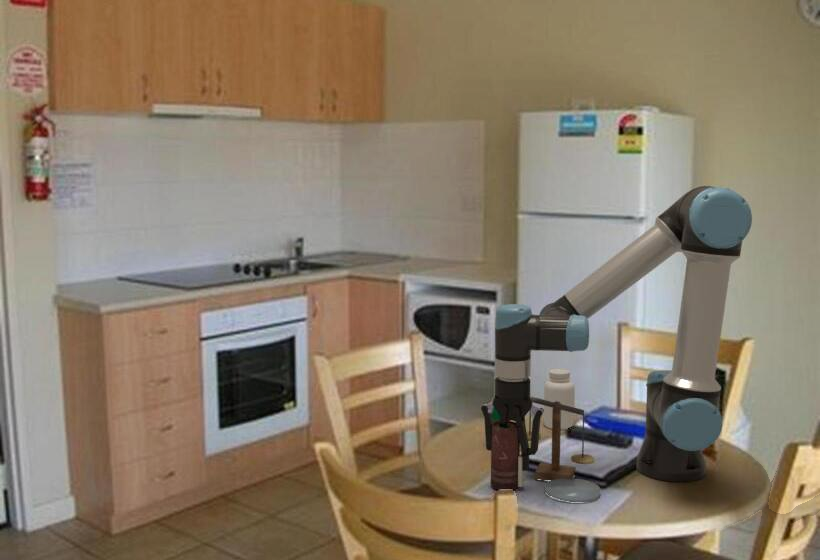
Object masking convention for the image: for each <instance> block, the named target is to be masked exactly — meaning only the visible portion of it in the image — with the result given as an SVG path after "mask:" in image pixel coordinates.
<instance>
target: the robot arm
mask: <svg viewBox="0 0 820 560" xmlns="http://www.w3.org/2000/svg"><path fill="white" fill-rule="evenodd" d="M750 207H751V206H750V205H749V203H748V201H746V199H745V198H744V197H743V196H742V195H741V194H739V193H738V192H736V191H734V190H733V189H730V188H729V187H722V186H717V187H715V186H711V185H708V186H707V185H703V186H698V187H695V188H693V189H690V190H689V191H687V192H685V193H684V194H683V195H682V196H681V197H680V198H678V199H677V200H676V201H675V202H674V203H673V204H672V205H670V206H669V207H668V208H667V209H666V210H664V211H663V212H662V213H661V214H659V215H658V216H657V217H656V218H655V222H654V225H653V226H652V227H650V228H649V229H648V230H646V231H645V232H644V233H642V234H641V235H640V236H638V237H637V238H636V239H634V240H633V241H632V242H631V243H628V245H627V246H626V247H624V248H623V249H621V250H620V251H619V252H618V253H616V254H615V255H614V256H612V257H611V258H610V259H608V260H607V261H606V262H605V263H603V264H601V266H600V267H599V268H597V269H596V270H594V271H593V272H592V273H590V274H589V275H588V276H586V277H585V278H584V279H583V280H581V281H580V282H579V283H577V284H576V285H574V287H572V288H571V289H570V290H568V291H567V292H566V293H564V295H562V296H561V297H560V298H558V299H556V300H555V301H554V302H549V303H547V304H545V306H543V307H542V308H541V310H540V312H539V314H533V312H532V308H531V306H530V305H527V304H519V303H509V304H502V305H500V306H498V307H497V309H496V310H495V321H494V322H495V326H494V342H495V343H494V344H495V345H494V350H495V351H494V353H495V354H494V355H495V357H494V375H495V377H496V378H494V397H495V398H494V400H493V402H491V401H490V402H491V403H490V402H489V403H488V402H485V403H484V404H483V405H482V406H481V407H480V410H481V412H482V414H483V418H484V434H485V447H486V450H487V451H491V449H492V443H491V431H492V426H493V415H492V412H493V408H495V409H496V411H497V412H498V414H499V415H500V421H499V427H505V426H506V425H507V422H508V421H509V420H510V421H512V422H516V426H517V428H518V434H519V441H520V451H521V452H520V455H519V457H518V487H521V488H522V487H523V485H524V483H525V472H527V471H528V469H529V468H530V456H534V455H537V454H536V453H537V452H538V451H539V441H540V440H539V433H540V429H541V418H542V416H543V415H544V407H538V406H535V405H533V404H534V403H533V402H532V401H531V399H530V397H531V379H530V376H531V373H532V371H531V368H532V367H531V365H532V364H531V359H532V357H531V356H532V355H531V352H532V351H544V352H545V351H550V352H551V351H552V352H570V353H572V352H582V351H586V350H587V349H588V347H589V343H590V324H589V318H591V317H592V316H593V315H595V314H596V313H598V312H599V311H600V310H601V309H603V308H605V306H607V305H608V304H609V303H611V302H613V301H614V300H615V299H616V298H618V297H619V296H620V295H622V294H623V293H624V292H626V291H627V290H628V289H629V288H631V287H632V286H634V285H635V284H636V283H638V282H639V281H640V280H642V279H643V278H644V277H645V276H647V275H649V274H650V273H651V272H652V271H653V270H655V269H656V268H658V267H659V266H660V265H661V264H663V263H664V262H666V260H668V259H669V258H670V257H671V256H673V255H674V254H676V253H679V252H680V253H682V254H683V255H684V257H685V258H686V263H685V264H686V265H685V266H686V267H685V271H684V273H685V274H684V280H683V287H682V294H681V301H680V309H679V317H678V318H679V319H678V325H677V330H676V331H677V332H676V338H675V339H676V340H675V346H674V352H673V353H674V355H673V359H672V360H673V361H672V369H671V370H668V369H667V370H665V369H663V370H653V371H650V372H649V373H648V374H647V381H646V383H645V385H646V401H645V403H646V405H645V406H646V407H645V409H646V410H645V411H646V413H645V435H644V438H643V441H642V444H641V446H640V449H639V452H638V454H637V457H636V470H637V471H638V472H639V473H641V475H644V476H646V477H648V478H653V479H656V480H660V481H665V482H678V483H679V482H680V483H681V482H684V483H685V482H693V481H697V480H701V479H703V478H704V477H705V476H706V472H707V469H706V468H707V464H706V463H707V462H706V459H705V456H704V453H703V450H704V449H707V448H709V447H710V446H711V445H713V444H714V443H715V442H716V441H717V440H718V438H719V437H720V435H721V433H722V429H723V420H722V419H723V418H722V413H721V411H720V410H719V406H720V405H719V404H720V400H721V399H720V397H721V391H722V386H721V384H719V382H718V381H717V380H716V372H717V363H718V358H719V350H720V343H721V336H722V327H723V323H724V316H725V315H724V314H725V308H726V301H727V293H728V287H729V281H730V273H731V266H732V264H733V263H734V262H735V261H736V260H738V259H740V258H741V254H742V253H741V252H742V245H743V241H744V240H745V238H746V237H747V236H748V234H749V232H750V231H751V227H752V224H753V213H752V209H751V208H750ZM530 411H531V418H532V422H531V432H532V435H531V441H530V446H529V441H528V438H527V432H528V431H527V427H526V416H527V414H528V413H530Z"/></svg>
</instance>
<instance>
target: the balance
mask: <svg viewBox="0 0 820 560" xmlns="http://www.w3.org/2000/svg"><path fill="white" fill-rule="evenodd" d="M530 399H531V401H532V404H537V405H542V406H543V407H544V406H548V407H552V408H553V409H552V429H551V463H546V462H545V463H543V462H540V463H539V464H538V467H536V469H535V472H534V480H535V479H541V480H555V479H560V478H565V479H572V478H573V476H574V472H575V470H576V471H577V469H576V468H577V466H573V465H571V466H570V465H564V464H561V434H562V433H561V432H562V431H561V410H564V411H568V412H571V413H574V415H575V414H576V415H579V416H582V436H581V437H582V439H581V440H582V443H581V444H582V445H581V446H582V447H581V453H576V454H573V455H571V457H570V460H571V462H573V463H575V464H578V465H590V464H593V463H594V462H595V457H594V456H593V455H590V454H585V453H584V450H585V447H584V444H585V443H584V442H585V441H584V440H585V410H584V409H582V408H577V407H575V406H574V407H570V406H566V405H562V404H561V403H560V402H558V401H555V402H551V401H547V400H544V398H543V399H542V398H538V397H535V396H530ZM528 427H529V428H528V430H529V431H526V432H527V438H528V442H531V435H532V412H531V411H529V425H528ZM541 439H542V433H540V432H539V441H540V440H541Z"/></svg>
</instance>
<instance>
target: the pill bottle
mask: <svg viewBox="0 0 820 560" xmlns="http://www.w3.org/2000/svg"><path fill="white" fill-rule="evenodd" d="M570 373H571V372H570V371H569V370H567V369H563V368H555V369H553V368H552V369H550V370H549V373H548V374H549V380H547V381H546V382H545V383H544V393H543V395H544V396H543V397H544V398H543V400H547V401H551V402H555V401H558V402H560V403H561V404H562V405H566V406H570V407H574V408H575V394H576V393H575V392H576V391H575V389H576V387H575V386H576V385H575V383H574V382H573V381H571V377H570V375H571V374H570ZM543 409H544V412H543V425H544V427H546V428H547V429H551V430H552V409H553V408H552V407H548V406H544V405H543ZM574 424H575V413H571V412H568V411H564V410H561V430H563V431H565V430H569V429H568V428H569V427H571V426H573V425H574ZM573 427H574V426H573Z"/></svg>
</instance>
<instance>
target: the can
mask: <svg viewBox="0 0 820 560" xmlns="http://www.w3.org/2000/svg"><path fill="white" fill-rule="evenodd" d="M491 443H492V449H491V450H490V485H491V488H493V489H494V490H496V489H515V490H517V489H518V487H519V486H518V457H519V455H520V454H521V452H520V451H521V447H520V441H519V434H518V428H517V426H516V421H513V420H510V421H508V422H507V425H506V426H505V427H499V421H498V422H495V423H494V424H493V426H492V431H491ZM516 488H517V489H516Z"/></svg>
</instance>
